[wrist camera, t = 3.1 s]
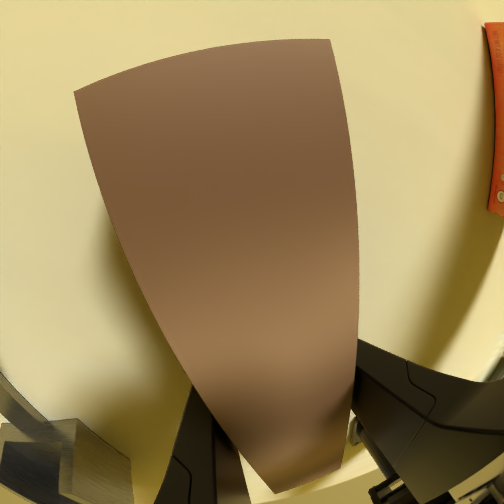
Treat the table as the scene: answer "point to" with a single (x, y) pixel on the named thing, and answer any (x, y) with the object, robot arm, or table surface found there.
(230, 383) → the walnut rail
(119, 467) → the brackets
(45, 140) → the table surface
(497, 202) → the cracker box
